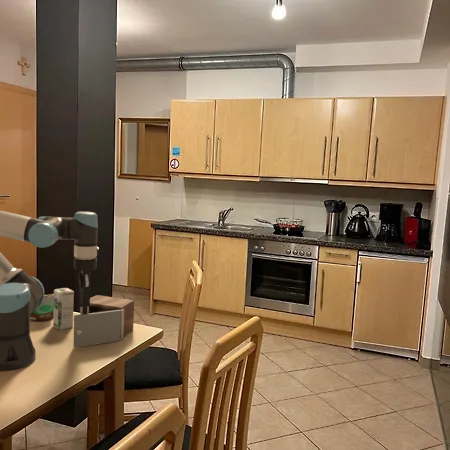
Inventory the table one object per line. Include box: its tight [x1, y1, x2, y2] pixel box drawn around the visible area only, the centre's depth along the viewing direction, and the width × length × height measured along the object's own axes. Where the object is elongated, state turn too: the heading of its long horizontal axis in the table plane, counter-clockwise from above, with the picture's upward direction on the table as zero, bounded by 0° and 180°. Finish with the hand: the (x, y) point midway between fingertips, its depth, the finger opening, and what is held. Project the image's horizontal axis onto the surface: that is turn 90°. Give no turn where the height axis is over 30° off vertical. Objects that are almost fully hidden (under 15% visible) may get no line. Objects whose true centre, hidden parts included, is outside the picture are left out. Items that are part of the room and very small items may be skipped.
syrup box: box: [52, 287, 75, 331], centre depth 172 cm, size 6×6×14 cm
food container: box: [30, 292, 54, 323], centre depth 179 cm, size 12×6×10 cm, turn 143°
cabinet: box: [89, 294, 135, 339], centre depth 170 cm, size 16×10×12 cm, turn 75°
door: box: [73, 309, 124, 348], centre depth 157 cm, size 17×2×11 cm, turn 123°
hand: (84, 323), depth 157 cm, fingers closed
